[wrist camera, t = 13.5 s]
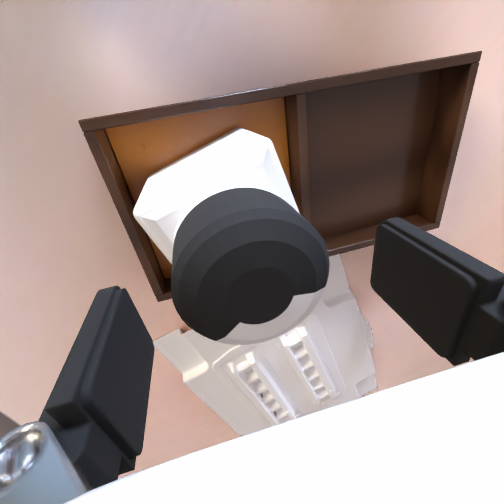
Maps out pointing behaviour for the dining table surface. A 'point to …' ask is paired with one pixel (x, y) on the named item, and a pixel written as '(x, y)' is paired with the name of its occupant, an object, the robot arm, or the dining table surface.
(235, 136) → the medicine bottle
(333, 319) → the tray
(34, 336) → the dining table surface
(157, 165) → the dark wooden divided tray
